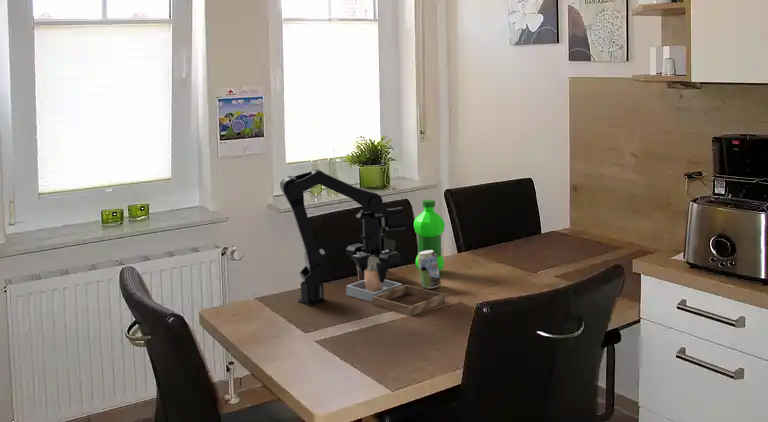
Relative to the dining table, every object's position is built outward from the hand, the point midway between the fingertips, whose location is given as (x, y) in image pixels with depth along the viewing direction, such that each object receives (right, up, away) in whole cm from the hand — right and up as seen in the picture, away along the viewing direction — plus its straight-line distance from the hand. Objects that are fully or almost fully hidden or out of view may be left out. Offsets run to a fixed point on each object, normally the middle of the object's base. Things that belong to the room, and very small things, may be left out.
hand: (373, 280), depth 250 cm
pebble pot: (0, -4, +1) cm, 4 cm away
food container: (0, -1, +18) cm, 18 cm away
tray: (0, -4, +1) cm, 4 cm away
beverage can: (+18, -3, +6) cm, 19 cm away
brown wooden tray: (+11, -6, -9) cm, 15 cm away
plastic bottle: (+19, 0, +21) cm, 28 cm away
